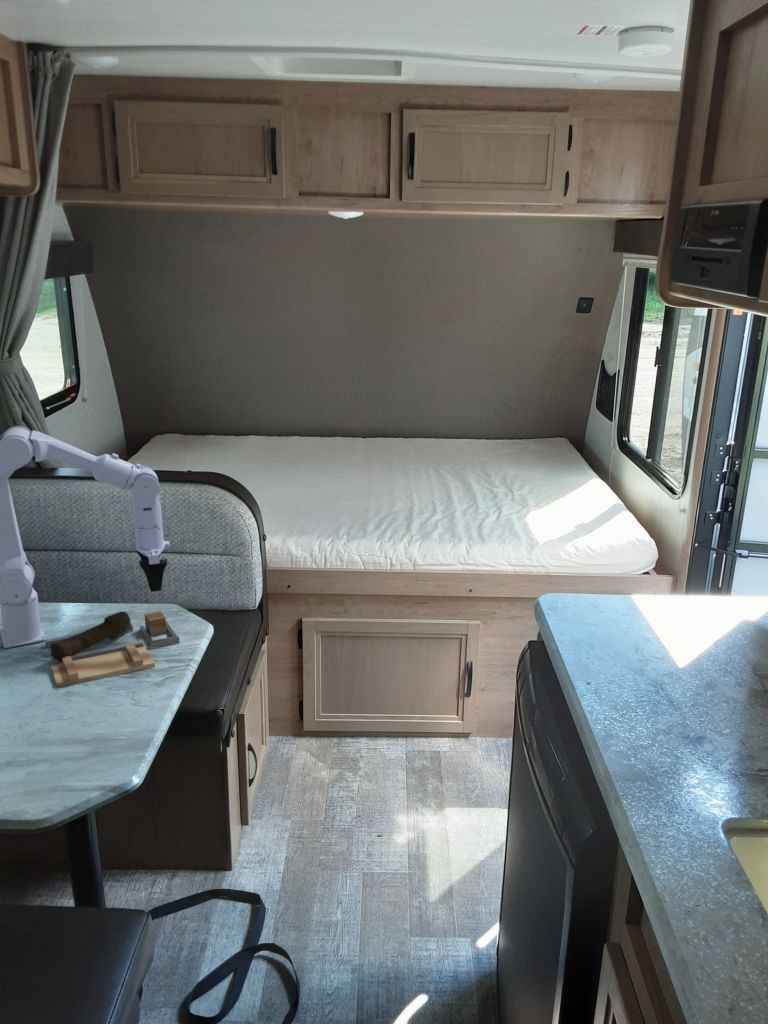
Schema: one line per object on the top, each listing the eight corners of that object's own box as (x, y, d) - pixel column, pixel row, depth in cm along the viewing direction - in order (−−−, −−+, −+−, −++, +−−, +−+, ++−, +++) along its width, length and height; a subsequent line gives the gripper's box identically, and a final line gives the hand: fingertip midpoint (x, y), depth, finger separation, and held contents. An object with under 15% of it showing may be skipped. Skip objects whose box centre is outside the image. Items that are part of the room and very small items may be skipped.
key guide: (139, 629, 173) (139, 624, 173) (166, 624, 176) (166, 619, 176) (151, 648, 165) (151, 643, 165) (179, 642, 168) (179, 637, 167)
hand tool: (63, 665, 156) (61, 643, 154) (50, 659, 158) (48, 638, 156) (139, 632, 171) (138, 612, 170) (126, 627, 173) (125, 607, 172)
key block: (145, 628, 174) (144, 613, 173) (161, 625, 175) (160, 610, 174) (150, 635, 170) (149, 620, 169) (166, 632, 172) (165, 617, 171)
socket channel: (45, 645, 165) (44, 640, 165) (131, 628, 173) (131, 623, 173) (53, 666, 156) (52, 661, 156) (143, 648, 165) (143, 643, 165)
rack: (50, 669, 156) (49, 659, 155) (144, 649, 164) (144, 641, 164) (57, 687, 149) (56, 677, 148) (154, 666, 158) (154, 657, 157)
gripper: (171, 532, 165) (177, 593, 169) (163, 513, 178) (168, 570, 182) (136, 536, 163) (142, 598, 167) (130, 516, 175) (136, 574, 180)
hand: (153, 584), depth 174 cm, fingers open, 7 cm apart
